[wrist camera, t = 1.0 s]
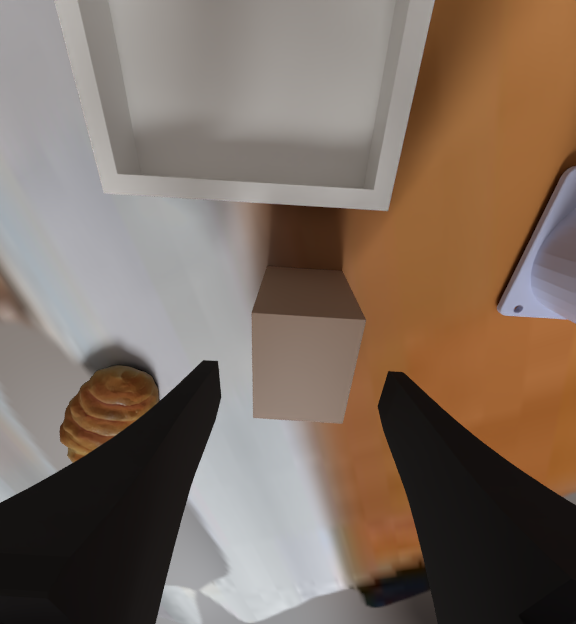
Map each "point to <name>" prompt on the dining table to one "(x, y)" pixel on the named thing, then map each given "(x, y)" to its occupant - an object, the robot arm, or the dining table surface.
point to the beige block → (304, 344)
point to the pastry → (106, 408)
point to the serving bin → (247, 96)
